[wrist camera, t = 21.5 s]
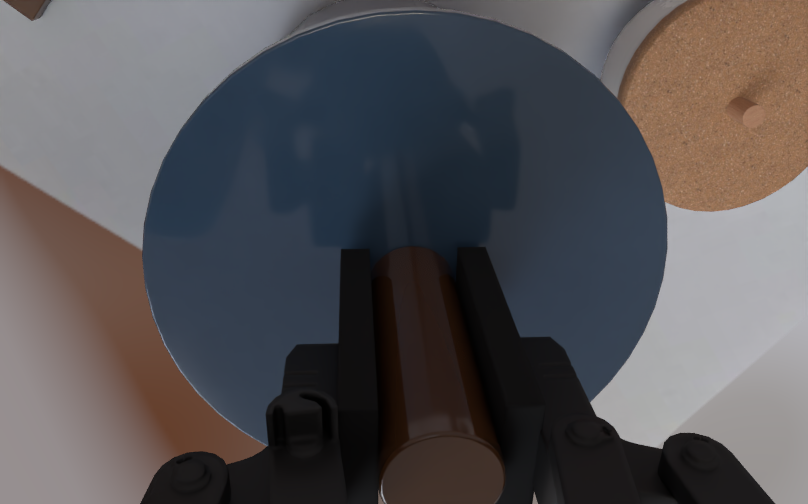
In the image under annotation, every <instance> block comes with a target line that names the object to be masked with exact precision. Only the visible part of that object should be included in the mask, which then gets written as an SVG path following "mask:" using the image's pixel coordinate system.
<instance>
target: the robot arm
mask: <svg viewBox="0 0 808 504" xmlns="http://www.w3.org/2000/svg"><path fill="white" fill-rule="evenodd" d="M455 283H456V287H457V290H458V294H459V298H460V301H461V305H462V309H463V312H464V316H465V319H466V323H467V327H468V330H469V334H470V338H471V341H472V345H473V349H474V352H475V356H476V360H477V363H478V367H479V371H480V374H481V378H482V382H483V385H484V389H485V392H486V396H487V400H488V403H489V407H490V411H491V414H492V418H493V422H494V425H495V429H496V433H497V436H498V440H499V444H500V447H501V451H502V455H503V458H504V462H505V465H506V472H507V473H506V482H505V487H504V489H503V492H502V494H501V496H500V498H499V499H498V500H497V502H496V503H495V504H532V501H533V494H534V492H535V495H536V498H537V502H538V504H775V503H774V502H773V501H772V499H771V498H770V497H769V496H768V495H767V494H766V492H765V491H764V490H763V489H762V488H761V487H760V485H759V484H758V483H757V482H756V481H755V480H754V478H753V477H752V476H751V475H750V474H749V473H748V471H747V470H746V469H745V468H744V467H743V466H742V464H741V463H740V462H739V461H738V460H737V459H736V457H735V456H734V455H733V454H732V453H731V452H730V451H729V450H728V449H727V448H726V447H725V446H723V445H722V444H721V443H719V442H717V441H715V440H713V439H711V438H709V437H707V436H703V435H699V434H695V433H679V434H676V435H673V436H670V437H669V438H668V439H667V440H666V441H665V442H664V445H663V449H659V448H654V447H649V446H644V445H639V444H635V443H631V442H628V441H625V440H623V439H621V438H620V437H619V435H618V433H617V432H616V430H615V428H614V427H613V426H612V425H610V424H609V423H608V422H607V421H605V420H604V419H601V418H599V417H597V416H596V414H595V412H594V410H593V408H592V406H591V404H590V402H589V400H588V397H587V395H586V393H585V391H584V389H583V387H582V385H581V383H580V381H579V378H577V374H576V372H575V370H574V368H573V366H571V362H570V359H569V357H568V355H567V353H566V351H565V349H564V348H563V347H562V346H560V345H559V344H558V343H557V342H556V341H555V340H553V339H552V338H551V337H520V335H519V333H518V330H517V328H516V325H515V322H514V320H513V317H512V315H511V312H510V309H509V307H508V304H507V302H506V299H505V296H504V294H503V291H502V289H501V286H500V284H499V281H498V278H497V276H496V273H495V271H494V268H493V265H492V263H491V260H490V258H489V255H488V252H487V250H486V247H458V248H457V265H456V282H455ZM265 415H266V426H267V437H268V446H267V447H266V448H265V449H264V450H263V451H261V452H259V453H258V454H256V455H254V456H252V457H250V458H247V459H244V460H241V461H238V462H234V463H231V464H227V465H226V463H225V461H224V460H223V459H222V458H220V457H219V456H217V455H216V454H213V453H208V452H189V453H185V454H182V455H180V456H177V457H174V458H172V459H171V460H170V461H168V462H167V463H165V464H164V465H162V467H161V468H160V469H159V470H158V471H157V473H156V474H155V475H154V477H153V479H152V481H151V483H150V485H149V487H148V489H147V491H146V493H145V495H144V498H143V499H142V501H141V503H140V504H378V476H377V459H378V395H377V378H376V360H375V342H374V324H373V306H372V288H371V270H370V252H369V249H341V262H340V302H339V342H338V343H328V344H297V345H296V346H295V347H294V349H293V350H292V351H291V352H290V353H289V355H288V356H287V357H286V362H285V369H284V377H283V384H282V391H281V395H279V396H277V397H275V398H274V399H273V401H272V402H271V403H270V404H269V405H268V407H267V411H266V414H265Z"/></svg>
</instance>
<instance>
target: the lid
mask: <svg viewBox="0 0 808 504" xmlns="http://www.w3.org/2000/svg"><path fill="white" fill-rule="evenodd" d="M458 247H486V250H487V252H488V255H489V258H490V260H491V263H492V265H493V268H494V271H495V273H496V276H497V278H498V281H499V284H500V286H501V289H502V291H503V294H504V296H505V299H506V302H507V304H508V307H509V309H510V312H511V315H512V317H513V320H514V322H515V325H516V328H517V330H518V333H519V335H520V337H551V338H552V339H553V340H555V341H556V342H557V343H558V344H559V345H560V346H562V347H563V348H564V349H565V351H566V353H567V355H568V357H569V359H570V362H571V366H573V368H574V370H575V372H576V374H577V378H579V381H580V383H581V385H582V387H583V389H584V391H585V393H586V395H587V397H588V400H589V402H591V401H592V400H593V399H594V398H595V397H596V396H597V395H598V394H599V393H600V392H601V391H602V390H603V389H604V388H605V387H606V386H607V384H608V383H609V382H610V381H611V380H612V379H613V378H614V376H615V375H616V374H617V372H618V371H619V370H620V369H621V367H622V366H623V365H624V363H625V362H626V361H627V359H628V358H629V357H630V355H631V353H632V351H633V350H634V348H635V346H636V345H637V343H638V341H639V340H640V338H641V336H642V335H643V333H644V331H645V328H646V326H647V324H648V321H649V319H650V317H651V315H652V312H653V310H654V308H655V305H656V301H657V298H658V294H659V291H660V287H661V284H662V280H663V276H664V269H665V261H666V254H667V213H666V207H665V200H664V194H663V187H662V184H661V181H660V178H659V174H658V171H657V168H656V165H655V162H654V159H653V156H652V154H651V152H650V150H649V148H648V146H647V144H646V142H645V140H644V138H643V136H642V134H641V132H640V130H639V128H638V126H637V125H636V123H635V122H634V121H633V119H632V118H631V116H630V115H629V114H628V112H627V111H626V109H625V108H624V106H623V105H622V104H621V102H620V101H619V100H618V99H617V97H616V96H615V95H614V94H613V93H612V92H611V91H610V90H609V89H608V88H607V87H606V86H605V85H604V84H603V83H602V82H601V81H600V80H599V79H598V78H597V77H596V76H595V75H594V74H593V73H592V72H590V71H589V70H588V69H586V68H585V67H584V66H582V65H581V64H580V63H578V62H577V61H576V60H574V59H573V58H572V57H571V56H569V55H568V54H567V53H565V52H564V51H563V50H561V49H559V48H558V47H556V46H554V45H552V44H550V43H548V42H547V41H545V40H543V39H541V38H539V37H538V36H536V35H534V34H532V33H530V32H528V31H526V30H523V29H520V28H518V27H515V26H512V25H510V24H507V23H504V22H502V21H499V20H496V19H494V18H490V17H485V16H480V15H476V14H471V13H467V12H462V11H458V10H449V9H436V8H424V7H407V8H390V9H376V10H371V11H366V12H361V13H356V14H351V15H346V16H341V17H336V18H333V19H330V20H328V21H325V22H322V23H319V24H316V25H313V26H310V27H308V28H305V29H302V30H299V31H297V32H295V33H293V34H291V35H289V36H287V37H286V38H284V39H282V40H280V41H278V42H276V43H274V44H272V45H270V46H268V47H266V48H264V49H263V50H261V51H260V52H259V53H257V54H256V55H254V56H253V57H252V58H250V59H249V60H247V61H246V62H244V63H243V64H242V65H240V66H239V67H237V68H236V69H235V70H233V71H232V72H231V73H230V74H229V75H228V76H227V77H226V78H225V79H224V80H223V81H222V82H221V83H220V84H218V85H217V86H216V87H215V88H214V89H213V90H212V91H211V92H210V93H209V94H208V95H207V96H206V97H205V98H204V100H203V101H202V102H201V104H200V105H199V106H198V107H197V109H196V110H195V111H194V112H193V114H192V115H191V116H190V118H189V119H188V120H187V121H186V123H185V124H184V125H183V127H182V128H181V129H180V131H179V133H178V135H177V136H176V138H175V140H174V142H173V143H172V145H171V147H170V149H169V151H168V152H167V154H166V156H165V158H164V159H163V162H162V164H161V167H160V169H159V172H158V175H157V177H156V180H155V183H154V185H153V188H152V190H151V194H150V198H149V203H148V208H147V212H146V217H145V222H144V233H143V250H142V259H143V269H144V280H145V288H146V292H147V296H148V300H149V304H150V308H151V312H152V316H153V319H154V321H155V324H156V326H157V328H158V331H159V333H160V336H161V338H162V340H163V343H164V345H165V347H166V349H167V350H168V352H169V354H170V355H171V357H172V359H173V361H174V362H175V364H176V366H177V367H178V369H179V371H180V372H181V373H182V374H183V376H184V377H185V378H186V379H187V381H188V382H189V383H190V385H191V386H192V387H193V388H194V390H195V391H196V392H197V393H198V394H199V395H200V396H201V397H202V398H203V399H204V400H205V401H206V402H207V403H208V404H209V405H210V406H211V407H212V408H213V409H214V410H215V411H216V412H217V413H218V414H220V415H221V416H222V417H223V418H225V419H226V420H227V421H229V422H230V423H231V424H233V425H234V426H235V427H236V428H238V429H239V430H240V431H242V432H244V433H245V434H247V435H249V436H250V437H252V438H254V439H255V440H257V441H259V442H260V443H262V444H264V445H265V446H268V437H267V426H266V415H265V414H266V411H267V407H268V405H269V404H270V403H271V402H272V401H273V399H274V398H275V397H277V396H279V395H281V391H282V384H283V377H284V369H285V362H286V357H287V356H288V355H289V353H290V352H291V351H292V350H293V349H294V347H295V346H296V345H297V344H328V343H338V342H339V302H340V262H341V249H369V252H370V270H371V288H372V306H373V324H374V342H375V360H376V378H377V395H378V459H377V476H378V490H379V494H380V496H381V499H382V501H383V502H384V504H495V503H496V502H497V500H498V499H499V498H500V496H501V494H502V492H503V489H504V487H505V482H506V473H507V472H506V465H505V462H504V458H503V455H502V451H501V447H500V444H499V440H498V436H497V433H496V429H495V425H494V422H493V418H492V414H491V411H490V407H489V403H488V400H487V396H486V392H485V389H484V385H483V382H482V378H481V374H480V371H479V367H478V363H477V360H476V356H475V352H474V349H473V345H472V341H471V338H470V334H469V330H468V327H467V323H466V319H465V316H464V312H463V309H462V305H461V301H460V298H459V294H458V290H457V287H456V283H455V282H456V265H457V248H458Z"/></svg>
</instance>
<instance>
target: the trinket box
mask: <svg viewBox="0 0 808 504" xmlns="http://www.w3.org/2000/svg"><path fill="white" fill-rule="evenodd" d="M600 81H601V82H602V83H603V84H604V85H605V86H606V87H607V88H608V89H609V90H610V91H611V92H612V93H613V94H614V95H615V96H616V97H617V99H618V100H619V101H620V102H621V104H622V105H623V106H624V108H625V109H626V111H627V112H628V114H629V115H630V116H631V118H632V119H633V121H634V122H635V123H636V125H637V126H638V128H639V130H640V132H641V134H642V136H643V138H644V140H645V142H646V144H647V146H648V148H649V150H650V152H651V154H652V156H653V159H654V162H655V165H656V168H657V171H658V174H659V178H660V181H661V184H662V187H663V194H664V200H665V202H667V203H669V204H672V205H674V206H677V207H679V208H684V209H689V210H694V211H711V212H712V211H721V210H729V209H733V208H737V207H741V206H745V205H748V204H750V203H753V202H755V201H758V200H761V199H763V198H765V197H766V196H768V195H770V194H772V193H774V192H775V191H777V190H779V189H780V188H782V187H783V186H785V185H786V184H788V183H789V182H791V181H792V180H793V179H794V178H796V177H797V176H798V175H799V174H800V173H801V172H802V171H803V170H804V169H805V168H806V167H807V166H808V0H654V1H653V2H651V3H649V4H648V5H647V6H646V7H644V8H643V9H642V10H641V11H640V12H638V13H637V14H636V15H635V16H634V17H633V18H632V19H631V20H630V21H629V22H628V23H627V25H626V26H625V27H624V28H623V29H622V31H621V32H620V34H619V35H618V36H617V38H616V39H615V41H614V43H613V45H612V47H611V49H610V50H609V52H608V55H607V58H606V60H605V63H604V66H603V69H602V74H601V79H600Z"/></svg>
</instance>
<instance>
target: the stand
mask: <svg viewBox="0 0 808 504" xmlns="http://www.w3.org/2000/svg"><path fill="white" fill-rule="evenodd" d="M4 1H5V2H6V3H8V4H9V5H11V6H12V7H13V8H15V9H16V10H17V11H19V12H20V13H22V14H23V15H24V16H26V17H27V18H28V19H30V20H32V21H33V20H36V19H38V18H40V17H41V15H42V14H43V12H44V10H45V9H46V7H47V6H48V4H49V3H50V1H51V0H4Z"/></svg>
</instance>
